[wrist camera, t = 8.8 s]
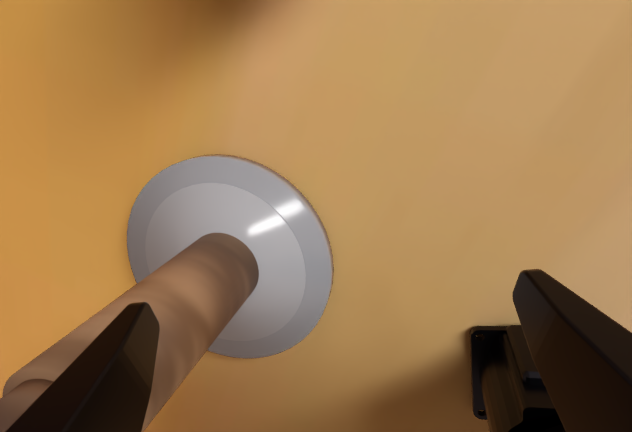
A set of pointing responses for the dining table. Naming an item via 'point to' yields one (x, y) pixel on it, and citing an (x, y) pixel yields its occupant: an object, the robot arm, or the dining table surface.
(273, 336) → the plate
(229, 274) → the wooden pepper mill
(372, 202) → the dining table surface
